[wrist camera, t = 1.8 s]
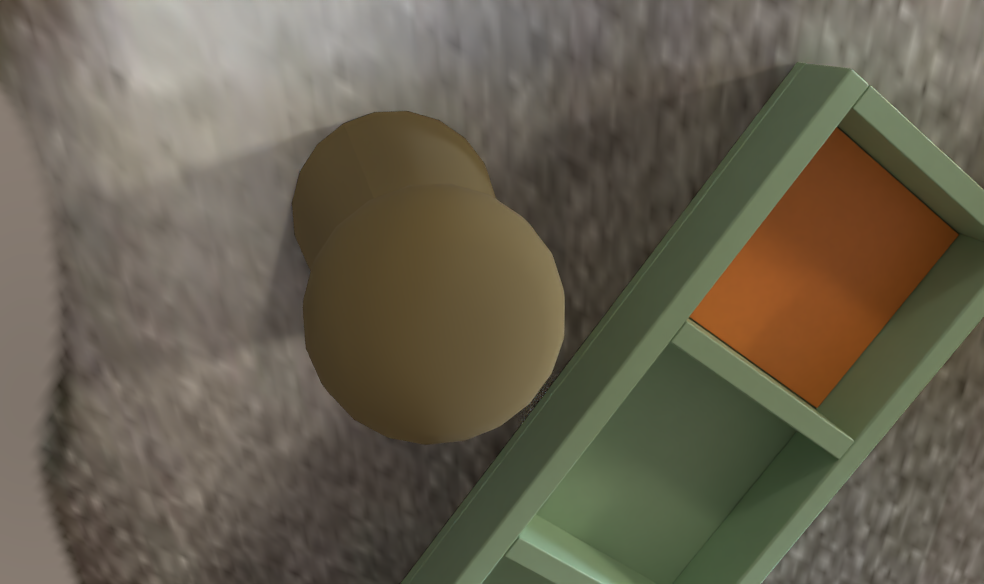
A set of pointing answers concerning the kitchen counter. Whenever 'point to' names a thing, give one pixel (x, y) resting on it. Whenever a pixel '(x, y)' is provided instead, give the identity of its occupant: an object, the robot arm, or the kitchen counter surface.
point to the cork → (421, 282)
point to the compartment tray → (740, 359)
